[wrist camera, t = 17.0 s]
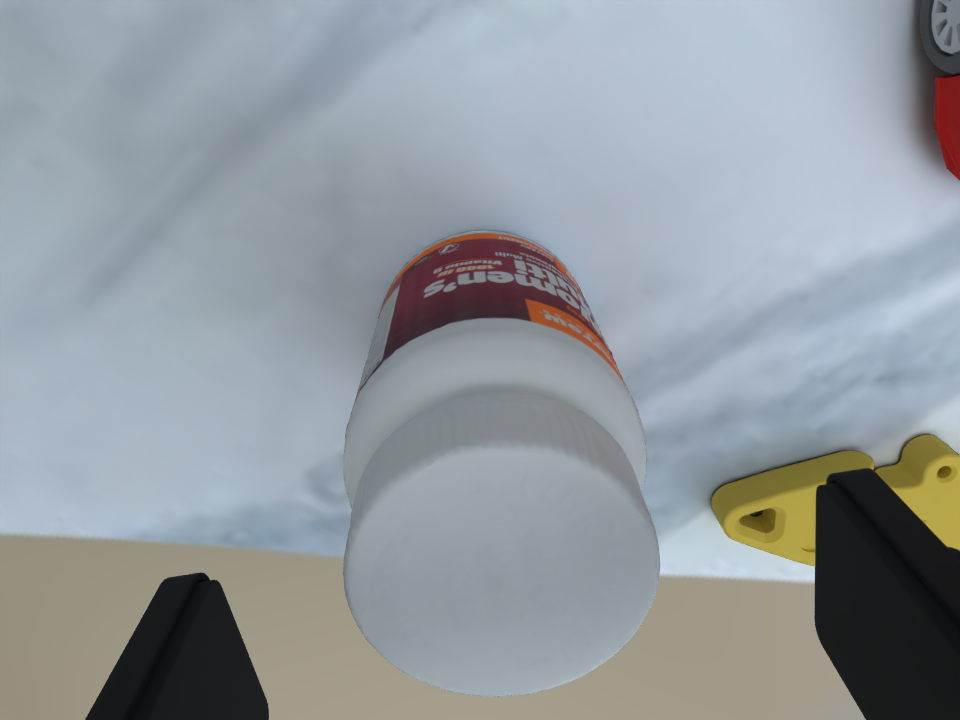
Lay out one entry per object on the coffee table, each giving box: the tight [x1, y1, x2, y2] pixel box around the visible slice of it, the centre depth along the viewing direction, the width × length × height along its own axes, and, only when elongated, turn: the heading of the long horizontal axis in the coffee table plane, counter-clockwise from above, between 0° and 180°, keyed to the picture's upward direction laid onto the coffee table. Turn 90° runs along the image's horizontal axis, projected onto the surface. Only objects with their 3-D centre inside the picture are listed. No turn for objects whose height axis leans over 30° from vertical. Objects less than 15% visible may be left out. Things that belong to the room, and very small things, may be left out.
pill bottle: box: [343, 231, 660, 697], centre depth 17 cm, size 6×6×11 cm
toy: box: [711, 435, 960, 566], centre depth 24 cm, size 15×1×5 cm
